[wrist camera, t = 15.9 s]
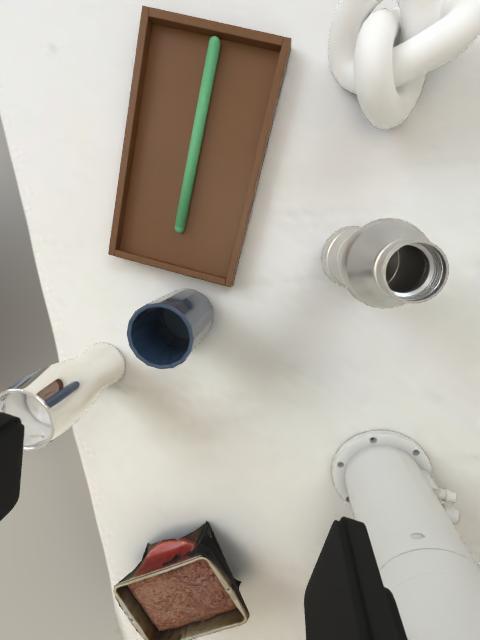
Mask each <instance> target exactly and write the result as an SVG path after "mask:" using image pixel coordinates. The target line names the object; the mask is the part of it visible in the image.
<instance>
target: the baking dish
mask: <svg viewBox="0 0 480 640" xmlns="http://www.w3.org/2000/svg"><path fill="white" fill-rule="evenodd" d="M240 583H241V582H240V581H238V580H236V579H234V578H233V576H232V573H231V571H230V569H229V567H228V564H227V562H226V560H225V558H224V555H223V553H222V551H221V549H220V546H219V544H218V542H217V540H216V538H215V535H214V533H213V531H212V529H211V527H210V525H209V523H208V522H207V521H206V523H205V524H204V525H202V526H201V527H200V528H199V529H197V530H196V531H194V532H192V533H190V534H188V535H186V536H184V537H182V538H181V539H179V540H175V539H170V540H163V541H161V542H158V543H155V544H152V545H151V544H149V543H148V544H147V547H146V550H145V552H144V555H143V558H142V561H141V562H140V563H139V564H138V566H137V567H136V568H135V569H134V570H133V571H132V572H131V573H129V574H128V575H127V576H126V577H125V578H124V579H122V580H121V581H120V582H119V583H118V584H116V585H115V586H114V593H115V597H116V600H117V601H118V603H119V606H120V607H121V608H122V610H123V611H124V613H125V614H126V615H127V617H128V619H129V620H130V622H131V623H132V625H133V626H134V627H135V628H136V631H137V632H138V633H139V634H140V635H141V636H142V638H143V639H144V640H192V639H195V638H198V637H202V636H205V635H208V634H212V633H215V632H218V631H222V630H224V629H228V628H232V627H235V626H240V625H242V624H244V623H246V622H247V620H248V618H249V612H248V609H247V607H246V605H245V603H244V600H243V598H242V596H241V594H240V591H239V585H240Z"/></svg>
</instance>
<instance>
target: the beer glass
mask: <svg viewBox="0 0 480 640" xmlns="http://www.w3.org/2000/svg"><path fill="white" fill-rule="evenodd" d="M124 372H125V361H124V358H123V356H122V354H121V353H120V351H119V350H118V349H116V348H115V347H114V346H112V345H110V344H107V343H96V344H93V345H91V346H90V347H89V348H88V349H87V350H86V351H85V352H84V353H83V354H81V355H80V356H78V357H76V358H72V359H69V360H65V361H62V362H58V363H55V364H52V365H49V366H47V367H44V368H42V369H40V370H38V371H36V372H34V373H32V374H30V375H28V376H27V377H25V378H23V379H22V380H20V381H18V382H17V383H15V384H14V385H12V386H11V387H9V388H8V389H7V390H5V391H3V392H1V393H0V412H3V413H6V414H10V415H13V416H16V417H19V418H20V419H21V423H22V424H23V425H24V427H25V430H24V443H23V450H24V451H35V450H39V449H42V448H43V447H45V446H46V445H47V444H48V443H50V442H51V441H52V440H54V439H55V438H57V437H58V436H59V435H61V434H62V433H63V432H64V431H66V430H67V429H69V428H70V427H71V426H72V425H73V424H75V423H76V422H77V421H78V420H79V419H80V418H81V417H82V416H83V415H84V414H85V413H86V411H87V410H88V409H89V408H90V407H91V405H92V404H93V402H94V401H95V400H96V398H97V397H98V395H99V394H100V393H101V391H102V390H103V389H104V388H105V387H107V386H109V385H111V384H114V383H115V382H117V381H118V380H120V379H121V377H122V376H123V374H124Z"/></svg>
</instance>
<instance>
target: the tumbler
mask: <svg viewBox="0 0 480 640" xmlns="http://www.w3.org/2000/svg"><path fill="white" fill-rule="evenodd" d="M213 317H214V315H213V309H212V306H211V304H210V302H209V300H208V299H207V298H206V297H205V296H204V295H203V294H201V293H200V292H198V291H196V290H193V289H179V290H176V291H174V292H171V293H169V294H167V295H165V296H163V297H161V298H159V299H157V300H155V301H152V302H150V303H148V304H146V305H145V306H143V307H141V308H140V309H138V310H136V311H135V313H134V314H133V316H132V317H131V319H130V320H129V324H128V330H127V337H128V341H129V346H130V348H131V349H132V351H133V352H134V354H135V355H136V357H137V358H138V359H140V360H141V361H142V362H144V363H145V364H146V365H148V366H151V367H155V368H158V369H167V368H174V367H176V366H177V365H179V364H181V363H183V362H184V361H185V360H186V359H187V357H188V356H189V355H190V354H191V352H192V351H193V350H194V349H195V347H196V346H197V345H198V344H199V342H200V341H201V340H202V339H203V337H204V336H205V335H206V334H207V332H208V331H209V330H210V328H211V326H212V323H213Z"/></svg>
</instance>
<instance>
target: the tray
mask: <svg viewBox="0 0 480 640" xmlns="http://www.w3.org/2000/svg"><path fill="white" fill-rule="evenodd" d="M213 36H216V37H218V38H219V40H220V43H221V45H220V50H219V56H218V61H217V66H216V71H215V76H214V81H213V86H212V92H211V97H210V102H209V107H208V112H207V117H206V122H205V128H204V133H203V138H202V143H201V148H200V153H199V158H198V163H197V169H196V174H195V179H194V184H193V189H192V194H191V199H190V205H189V210H188V215H187V220H186V225H185V230H184V231H183V232H182V233H178V232H176V231H175V222H176V216H177V211H178V206H179V200H180V195H181V189H182V184H183V179H184V173H185V168H186V163H187V157H188V152H189V146H190V141H191V136H192V130H193V125H194V120H195V114H196V109H197V104H198V98H199V93H200V87H201V82H202V77H203V71H204V66H205V61H206V55H207V50H208V44H209V40H210V38H211V37H213ZM290 50H291V38H287V37H284V38H283V36H278V35H274V34H269V33H265V32H260V31H255V30H251V29H246V28H242V27H237V26H233V25H228V24H224V23H219V22H215V21H210V20H205V19H201V18H196V17H192V16H187V15H183V14H178V13H174V12H169V11H165V10H160V9H155V8H151V7H150V8H149V7H146V6H142V13H141V20H140V27H139V34H138V42H137V49H136V56H135V64H134V71H133V78H132V85H131V93H130V100H129V107H128V115H127V122H126V129H125V137H124V144H123V151H122V158H121V166H120V173H119V180H118V188H117V195H116V202H115V209H114V217H113V224H112V231H111V239H110V246H109V253H108V254H109V255H113V256H116V257H120V258H124V259H128V260H131V261H135V262H139V263H142V264H146V265H150V266H154V267H157V268H161V269H165V270H168V271H172V272H176V273H180V274H183V275H187V276H191V277H194V278H198V279H202V280H206V281H209V282H213V283H217V284H220V285H225V286H228V287H231V286H233V283H234V279H235V275H236V271H237V267H238V263H239V259H240V255H241V250H242V246H243V242H244V238H245V234H246V230H247V226H248V222H249V218H250V214H251V210H252V205H253V201H254V197H255V193H256V189H257V185H258V181H259V177H260V173H261V169H262V165H263V161H264V156H265V152H266V148H267V144H268V140H269V136H270V132H271V128H272V124H273V120H274V116H275V111H276V107H277V103H278V99H279V95H280V91H281V87H282V83H283V79H284V75H285V71H286V66H287V62H288V58H289V54H290Z"/></svg>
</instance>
